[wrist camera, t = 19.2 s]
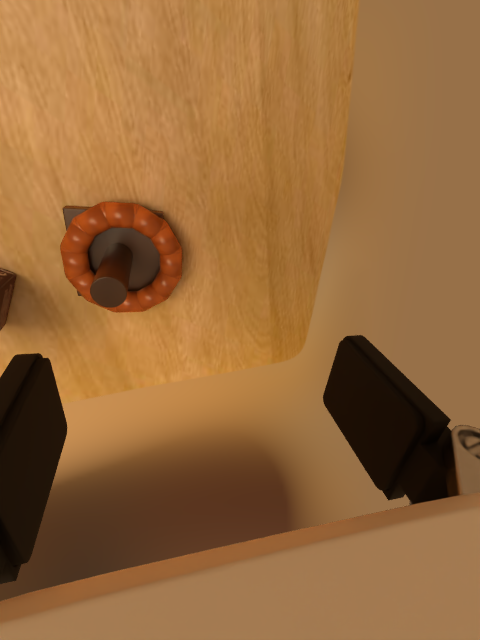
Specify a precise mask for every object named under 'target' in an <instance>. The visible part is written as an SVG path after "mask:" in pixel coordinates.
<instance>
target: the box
mask: <svg viewBox="0 0 480 640" xmlns="http://www.w3.org/2000/svg"><path fill="white" fill-rule="evenodd" d="M15 278H16V275H15V274H13V273H11V272H9V271H7V270H3V269H0V330H1V329H2V328H3V327H4V325H5V322H6V318H7V314H8V309H9V305H10V301H11V297H12V292H13V287H14V283H15Z"/></svg>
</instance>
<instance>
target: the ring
mask: <svg viewBox="0 0 480 640" xmlns="http://www.w3.org/2000/svg"><path fill="white" fill-rule="evenodd" d="M110 228H132V229H134V230H136V231H138V232H139V233H141V234H143V235H145V236H146V237H148V238H150V239H151V241H152V243H153V244H154V246H155V247H156V249H157V250H158V252H159V254H160V271H159V273H158V274H157V276H156V278H155V279H154V281H153V283H152V284H150V285H148V286H146V287H144V288H142V289H140V290H138V291H128V292H127V297H126V300H125V301H124V302H123V303H122V304H121V305H119V306H117V307H113V308H107V307H103V306H101V307H103V308H105V309H108V310H110V311H112V312H143V311H146V310H148V309H150V308H151V307H153V306H155V305H157V304H159V303H161V302H163V301H165V300H166V299H168V297H169V296H170V294H171V293H172V291H173V290H174V288H175V286H176V285H177V283H178V282H179V280H180V278H181V276H182V248H181V246H180V244H179V242H178V241H177V239H176V237H175V235H174V234H173V232H172V230H171V229H170V227H169V225H168V224H167V222H166V221H165V220H163V219H162V218H160V217H158V216H157V215H155V214H153V213H152V212H150V211H149V210H147V209H145V208H144V207H142V206H140V205H138V204H135V203H118V202H101V203H99V204H97V205H95V206H94V207H92V208H90V209H88V210H86V211H84V212H82V213H81V214H79V215H77V216H75V217H74V218H73V219H72V221H71V223H70V225H69V228H68V230H67V232H66V234H65V236H64V238H63V240H62V242H61V245H60V250H61V255H62V260H63V265H64V271H65V275H66V277H67V279H68V280H69V281H70V282H71V283H72V285H73V286H74V287H75V288H76V289H77V290H78V291H79V293H80V294H81V295H82V296H83V297H84V298H85V299H86V300H87V301H89V302H91V303H94V304H96V305H98V306H100V305H99V304H97V303H96V302H95V301H94V300H93V299H92V297H91V294H90V287H91V284H92V282H93V280H94V277H95V274H94V273H93V272H92V271H91V269H90V265H89V258H88V250H89V248H90V246H91V244H92V242H93V240H94V238H95V236H97V235H99V234H101V233H103V232H105V231H106V230H108V229H110Z"/></svg>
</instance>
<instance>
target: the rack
mask: <svg viewBox="0 0 480 640" xmlns="http://www.w3.org/2000/svg"><path fill="white" fill-rule="evenodd" d="M90 208H92V207H78V206H65V207H63V214H64V219H65V225H66V231H67V230H68V228H69V225H70V223H71V221H72V219H73V218H74V217H75V216H77V215H79V214H81V213H82V212H84V211H86V210H88V209H90ZM149 211H150V212H152V213H153V214H155V215H157V216H158V217H160V218H162V219H163V212H162V211H151V210H149ZM88 258H89V265H90V269H91V271H92V272H93V273H94V274H95V277H94V280H93V282H92V284H91V287H90V294H91V297H92V299H93V300H94V301H95V302H96V303H97V304H99V305H100V306H103V307H107V308H113V307H117V306H119V305H121V304H122V303H123V302H124V301H125V300H126V297H127V292H128V291H138V290H140V289H142V288H144V287H146V286H148V285H150V284H152V283H153V281H154V279H155V278H156V276H157V274H158V273H159V271H160V254H159V252H158V250H157V249H156V247H155V246H154V244H153V243H152V241H151V239H150V238H148V237H146V236H145V235H143V234H141V233H139V232H138V231H136V230H134V229H132V228H110V229H108V230H106V231H105V232H103V233H101V234H99V235H97V236H95V238H94V240H93V242H92V244H91V246H90V248H89V250H88ZM77 293H78V296H82V295H81V294H80V293H79V291H78V290H77Z"/></svg>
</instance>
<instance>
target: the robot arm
mask: <svg viewBox="0 0 480 640" xmlns="http://www.w3.org/2000/svg"><path fill="white" fill-rule="evenodd" d="M323 401H324V404H325V406H326V408H327V409H328V411H329V413H330V414H331V416H332V417H333V419H334V421H335V422H336V424H337V425H338V427H339V429H340V430H341V432H342V433H343V435H344V436H345V438H346V440H347V441H348V443H349V444H350V446H351V448H352V449H353V451H354V452H355V454H356V456H357V457H358V459H359V460H360V462H361V463H362V465H363V467H364V468H365V470H366V471H367V473H368V474H369V476H370V478H371V479H372V481H373V482H374V484H375V486H376V487H377V488H378V489H379V490H382V491H383V493H384V494H385V496H386V497H387V499H388V500H392V499H397V498H401V497H403V496H404V495H405V494H406V495H407V497H408V498H409V500H410V505H408V506H404V507H399V508H395V509H390V510H385V511H381V512H376V513H372V514H367V515H362V516H358V517H354V518H349V519H344V520H340V521H335V522H331V523H326V524H322V525H317V526H313V527H308V528H304V529H299V530H295V531H291V532H286V533H281V534H277V535H273V536H268V537H263V538H259V539H255V540H250V541H246V542H241V543H237V544H232V545H228V546H224V547H219V548H215V549H210V550H206V551H202V552H197V553H193V554H189V555H184V556H180V557H176V558H171V559H167V560H163V561H158V562H154V563H150V564H146V565H141V566H136V567H133V568H128V569H124V570H119V571H115V572H111V573H107V574H103V575H99V576H94V577H91V578H87V579H82V580H79V581H75V582H70V583H66V584H62V585H58V586H54V587H50V588H46V589H42V590H38V591H34V592H30V593H27V594H23V595H20V596H16V597H13V598H10V599H6V600H3V601H0V640H480V429H478V428H476V427H472V426H468V425H459V426H455V427H454V428H453V429H452V431H451V430H450V429H449V428H448V427H447V425H448V423H449V422H450V419H449V418H448V417H447V416H446V415H445V414H444V413H443V412H442V411H441V410H440V409H439V408H438V407H437V406H436V405H435V404H434V403H433V402H432V401H431V400H430V399H428V398H427V396H425V395H424V394H423V393H422V392H421V391H420V390H419V389H418V388H417V387H416V386H415V385H414V384H413V383H412V382H411V381H410V380H409V379H408V378H407V377H406V376H404V374H403V373H401V371H399V370H398V369H397V368H396V367H395V366H394V365H393V364H392V363H391V362H390V361H389V360H388V359H387V358H386V357H385V356H384V355H383V354H382V353H381V352H380V351H378V349H377V348H375V347H374V346H373V345H372V344H371V343H370V342H369V341H368V340H367V339H366V338H365V337H363V336H361V335H359V336H358V335H357V336H346V337H345V338H344V339H343V340H342V341H341V342H340V343H339V346H338V349H337V353H336V356H335V360H334V362H333V366H332V369H331V372H330V375H329V379H328V382H327V385H326V388H325V392H324V395H323ZM66 435H67V422H66V419H65V415H64V411H63V407H62V403H61V400H60V396H59V392H58V388H57V385H56V381H55V377H54V373H53V370H52V366H51V362H50V360H49V358H43V357H42V355H41V354H39V353H37V354H20V355H15V356H14V357H13V359H12V360H11V362H10V363H9V365H8V366H7V368H6V370H5V371H4V373H3V374H2V376H1V377H0V584H2V583H7V582H12V581H16V579H17V576H18V573H19V569H20V566H21V564H23V563H27V562H28V561H29V559H30V557H31V554H32V551H33V548H34V545H35V541H36V538H37V534H38V531H39V527H40V524H41V521H42V517H43V513H44V510H45V507H46V504H47V500H48V497H49V493H50V490H51V486H52V483H53V479H54V476H55V473H56V469H57V466H58V462H59V459H60V456H61V452H62V449H63V445H64V442H65V439H66Z"/></svg>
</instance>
